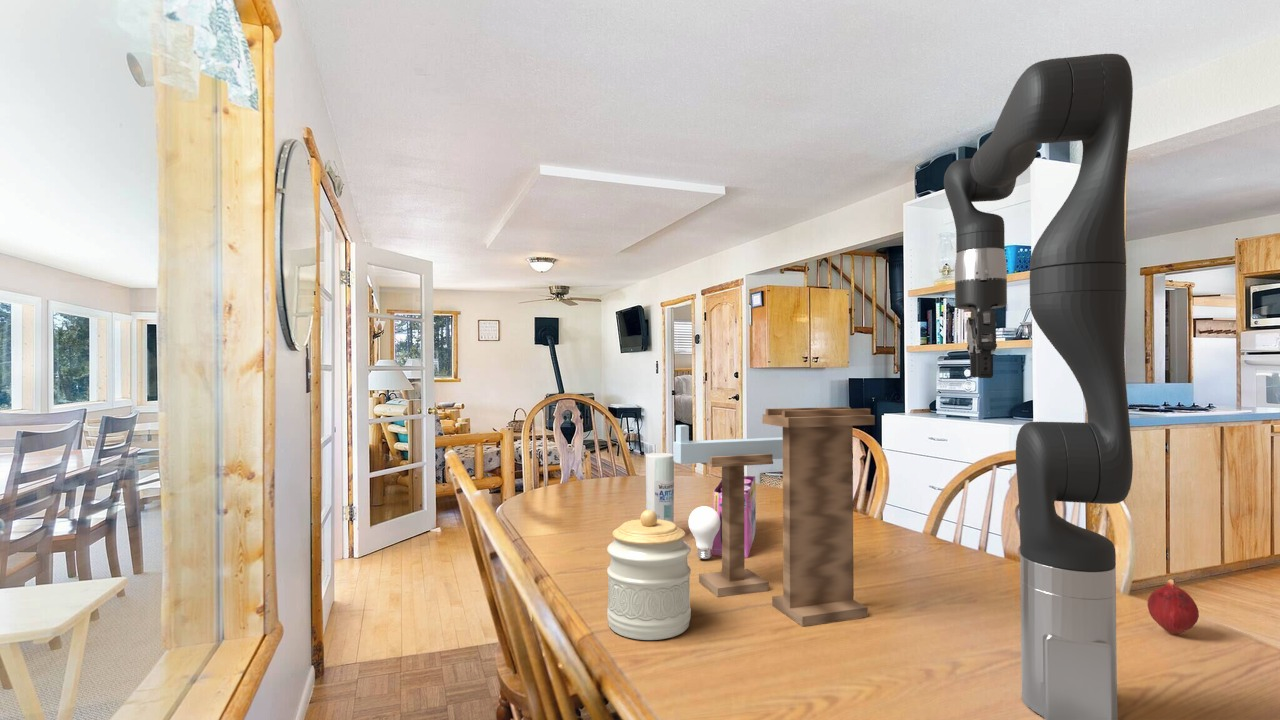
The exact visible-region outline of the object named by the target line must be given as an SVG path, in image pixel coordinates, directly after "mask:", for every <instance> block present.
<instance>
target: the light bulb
mask: <svg viewBox="0 0 1280 720" xmlns="http://www.w3.org/2000/svg"><path fill="white" fill-rule="evenodd" d="M687 524H688V527H689V530H690V532H691V534H692V535H693V537H694V540H695V545H696V548H697V552H696V553H697V555H696V556H697V557H698V558H700V559H701V560H703V561H705V560H709V559H710V558H711V557H712V556H713V555H712V546H713V540H714V538H715V536H716V534H717V533H718V531H719V529H720V518H719V515H718V513H717V512H716V511H715V510H714V509H713V507H711V506H706V505H702V506H698V507H696V508H695V509H693V510H692V511H691V513H690V515H689V517H688V522H687Z"/></svg>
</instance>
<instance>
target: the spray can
mask: <svg viewBox="0 0 1280 720" xmlns="http://www.w3.org/2000/svg"><path fill="white" fill-rule="evenodd" d="M674 479H675V462H674V461H673V453H669V452H652V453H651V452H650V453H646V454H645V510H652V511H654V512H655V513H656V515H657V519H660V520H666V521H670V522H673V523H674V524H675V522H674V517H675V516H674V514H675V513H674V510H675V504H674V503H675V501H674V499H675V498H674V497H675V494H674V493H675V492H674V491H675V489H674V488H675V480H674Z"/></svg>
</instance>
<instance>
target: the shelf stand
mask: <svg viewBox="0 0 1280 720" xmlns="http://www.w3.org/2000/svg"><path fill="white" fill-rule="evenodd" d="M761 416H762V417H761V419H762V422H761V423H762V424H763V425H770V426H775V427H781V428H782V437H783V459H782V561H783V562H782V576H783V578H782V579H783V581H782V583H783V584H782V587H783V590H782V593H783V595H782V594H781V595H774V596H772V601H771V602H772V603H771V605H772V607H774V608H775V609H777V610H778V611H780V613H782V614H784V615H785V616H787V618H790V619H791V620H793V621H794V622H795V623H797V624H798V625H799V626H800V627H808V626H814V625H816V626H817V625H821V624H828V623H834V622H835V623H836V622H841V621H848V620H854V619H860V618H861V619H862V618H868V617H869V615H868V611H869V609H868V606H866V605H864V604H862V603H861V602H858V600H855V598H854V595H855V593H854V590H855V589H854V587H855V586H854V579H855V578H854V457H853V456H854V453H853V450H854V449H853V447H854V445H853V443H854V441H853V440H854V439H853V437H854V436H853V435H854V434H853V433H854V432H853V430H854V427H853V426H874V425H876V424H875V423H876V419H875V415H874V414H871V408H851V406H836V407H835V406H829V407H828V406H825V407H786V408H765V414H762V415H761Z"/></svg>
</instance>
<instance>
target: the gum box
mask: <svg viewBox="0 0 1280 720" xmlns="http://www.w3.org/2000/svg"><path fill="white" fill-rule="evenodd" d="M712 495H713V496H712V497H713V498H712V509H714V510H715V511H716V512H717V513H718V515H719V518H720V529H719V531H718V533H717V534H716V536H715V538H714V540H713V546H712V548H711V550H712V551H711V552H712V553H711V554H712V555H711V556H721V557H722V479H721V480H720V482H719V483H718V484H717V485H716V487H715V488H714V490H713V491H712ZM756 503H757V502H756V476H755V475H754V476H752V475H744V559H747V558H749V555H750V552H751V549H752V546H753V542H754V539H755V536H756V533H757V526H756V525H757V523H756V520H757V519H756V518H757V515H756V513H757V512H756V510H757V509H756V508H757V507H756Z"/></svg>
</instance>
